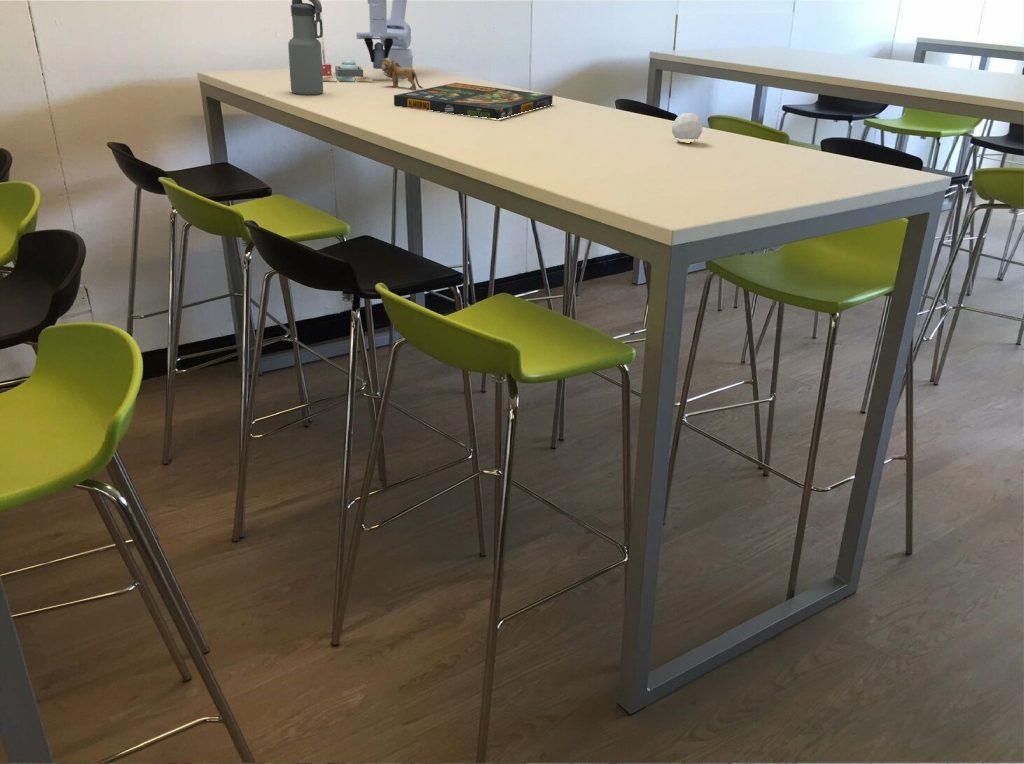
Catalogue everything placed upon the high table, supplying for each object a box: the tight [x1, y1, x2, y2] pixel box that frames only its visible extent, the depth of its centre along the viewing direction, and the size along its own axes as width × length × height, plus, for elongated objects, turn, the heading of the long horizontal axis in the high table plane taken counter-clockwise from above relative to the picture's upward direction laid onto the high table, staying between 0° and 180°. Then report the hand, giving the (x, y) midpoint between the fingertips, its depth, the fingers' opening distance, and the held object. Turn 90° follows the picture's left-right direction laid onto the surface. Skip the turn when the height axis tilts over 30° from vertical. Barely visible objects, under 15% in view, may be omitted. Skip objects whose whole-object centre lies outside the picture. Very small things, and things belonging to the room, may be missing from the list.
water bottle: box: [287, 0, 324, 96], centre depth 268 cm, size 10×10×28 cm
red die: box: [322, 63, 332, 76], centre depth 310 cm, size 4×4×4 cm
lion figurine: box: [381, 58, 424, 91], centre depth 290 cm, size 15×5×9 cm, turn 72°
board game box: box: [393, 82, 554, 119], centre depth 267 cm, size 35×35×4 cm
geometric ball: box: [671, 112, 703, 140], centre depth 229 cm, size 8×8×8 cm
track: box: [323, 75, 374, 83], centre depth 302 cm, size 17×10×1 cm, turn 106°
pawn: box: [372, 41, 385, 70], centre depth 301 cm, size 4×4×8 cm
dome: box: [339, 59, 359, 70], centre depth 311 cm, size 6×6×4 cm
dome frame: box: [334, 65, 364, 78], centre depth 312 cm, size 9×9×2 cm
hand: (379, 62), depth 302 cm, fingers closed on pawn, 4 cm apart
